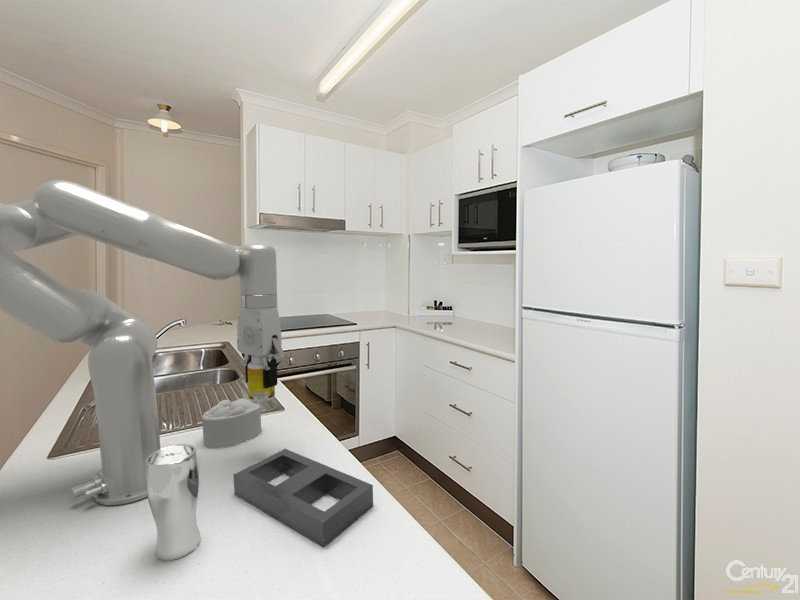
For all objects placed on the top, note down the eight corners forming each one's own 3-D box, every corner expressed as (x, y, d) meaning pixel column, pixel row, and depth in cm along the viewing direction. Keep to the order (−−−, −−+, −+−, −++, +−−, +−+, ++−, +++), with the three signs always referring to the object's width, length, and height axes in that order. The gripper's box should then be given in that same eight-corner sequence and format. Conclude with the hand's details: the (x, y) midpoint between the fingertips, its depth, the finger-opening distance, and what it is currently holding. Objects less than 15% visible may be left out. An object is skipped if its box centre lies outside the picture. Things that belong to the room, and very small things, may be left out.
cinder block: (323, 547, 59) (322, 522, 59) (234, 494, 73) (233, 474, 73) (373, 506, 69) (372, 485, 69) (286, 466, 83) (285, 448, 82)
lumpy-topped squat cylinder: (266, 434, 99) (264, 401, 98) (214, 453, 89) (212, 417, 88) (245, 423, 106) (244, 392, 105) (196, 440, 96) (193, 406, 95)
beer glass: (211, 529, 64) (205, 442, 62) (190, 562, 57) (182, 465, 55) (168, 531, 63) (161, 443, 62) (141, 564, 57) (132, 467, 55)
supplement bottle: (274, 402, 84) (273, 355, 83) (246, 404, 82) (245, 357, 81) (275, 393, 89) (274, 350, 88) (250, 395, 88) (248, 351, 87)
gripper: (220, 301, 85) (223, 381, 87) (269, 306, 76) (271, 396, 77) (250, 298, 92) (253, 373, 93) (299, 303, 82) (300, 386, 83)
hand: (261, 383), depth 85 cm, fingers closed on supplement bottle, 5 cm apart
